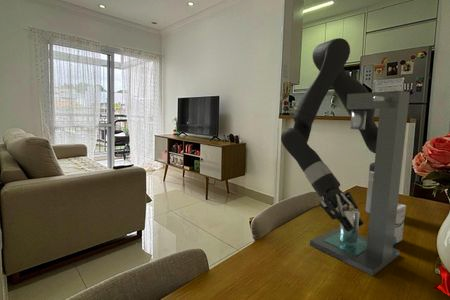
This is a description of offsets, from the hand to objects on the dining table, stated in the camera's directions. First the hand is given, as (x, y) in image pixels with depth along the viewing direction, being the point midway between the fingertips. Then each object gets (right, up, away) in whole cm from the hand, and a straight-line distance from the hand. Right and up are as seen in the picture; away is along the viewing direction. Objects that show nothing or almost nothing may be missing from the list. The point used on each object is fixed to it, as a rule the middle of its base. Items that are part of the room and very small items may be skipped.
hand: (355, 227), depth 71 cm
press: (-1, -7, +1) cm, 7 cm away
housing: (-1, -4, +2) cm, 5 cm away
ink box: (+14, -7, +7) cm, 17 cm away
